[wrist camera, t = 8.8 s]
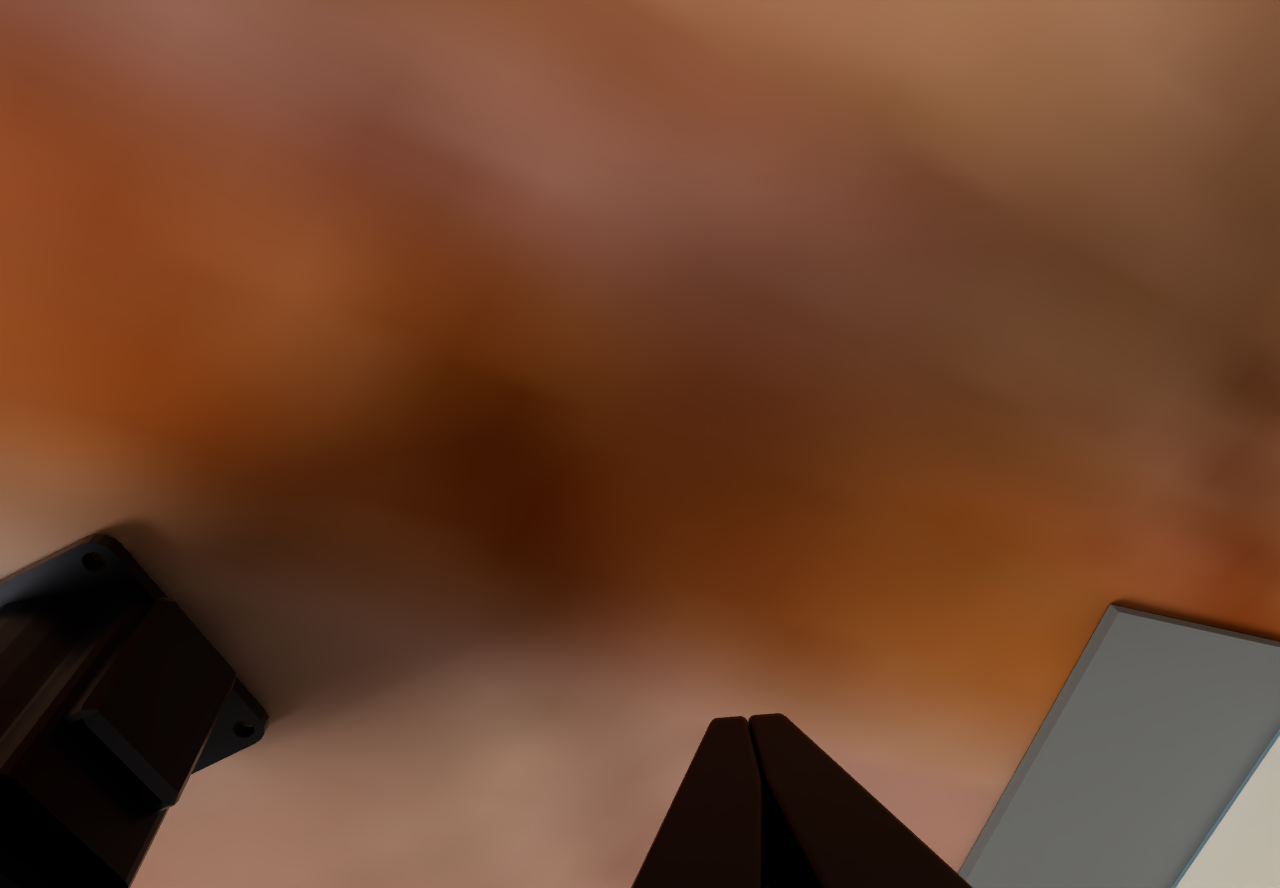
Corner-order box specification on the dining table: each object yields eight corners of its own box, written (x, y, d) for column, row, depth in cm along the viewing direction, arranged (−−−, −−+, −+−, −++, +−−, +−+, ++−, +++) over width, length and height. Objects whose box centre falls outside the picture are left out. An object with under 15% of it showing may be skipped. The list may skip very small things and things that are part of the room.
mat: (890, 992, 29) (895, 1004, 29) (1110, 604, 24) (1119, 612, 24) (1333, 1032, 34) (1342, 1042, 34) (1599, 712, 29) (1613, 720, 28)
